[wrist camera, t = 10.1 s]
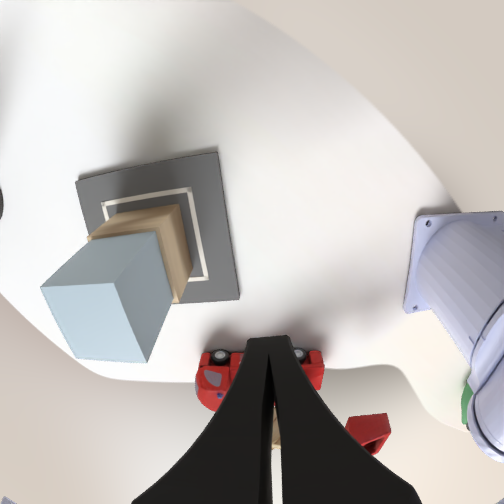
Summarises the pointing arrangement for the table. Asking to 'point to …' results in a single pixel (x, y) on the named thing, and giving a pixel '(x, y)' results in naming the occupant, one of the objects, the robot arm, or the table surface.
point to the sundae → (1, 205)
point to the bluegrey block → (111, 298)
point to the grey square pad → (192, 211)
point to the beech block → (168, 236)
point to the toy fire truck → (219, 381)
